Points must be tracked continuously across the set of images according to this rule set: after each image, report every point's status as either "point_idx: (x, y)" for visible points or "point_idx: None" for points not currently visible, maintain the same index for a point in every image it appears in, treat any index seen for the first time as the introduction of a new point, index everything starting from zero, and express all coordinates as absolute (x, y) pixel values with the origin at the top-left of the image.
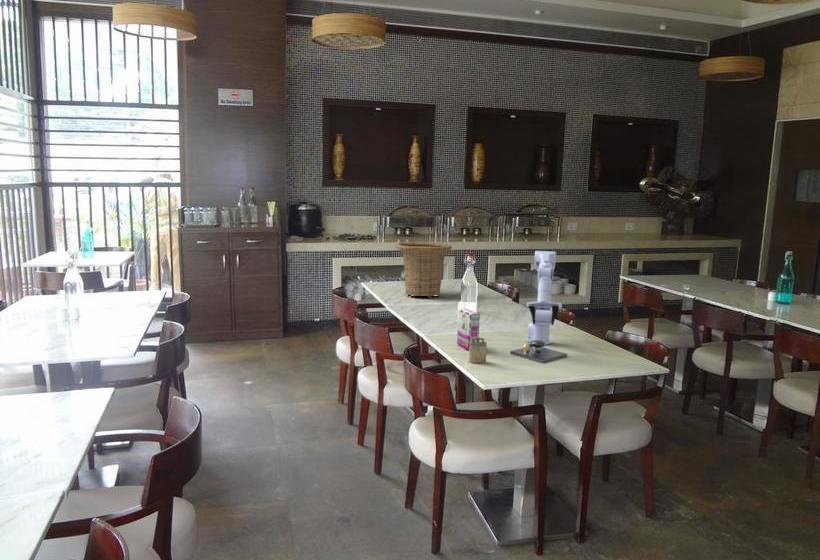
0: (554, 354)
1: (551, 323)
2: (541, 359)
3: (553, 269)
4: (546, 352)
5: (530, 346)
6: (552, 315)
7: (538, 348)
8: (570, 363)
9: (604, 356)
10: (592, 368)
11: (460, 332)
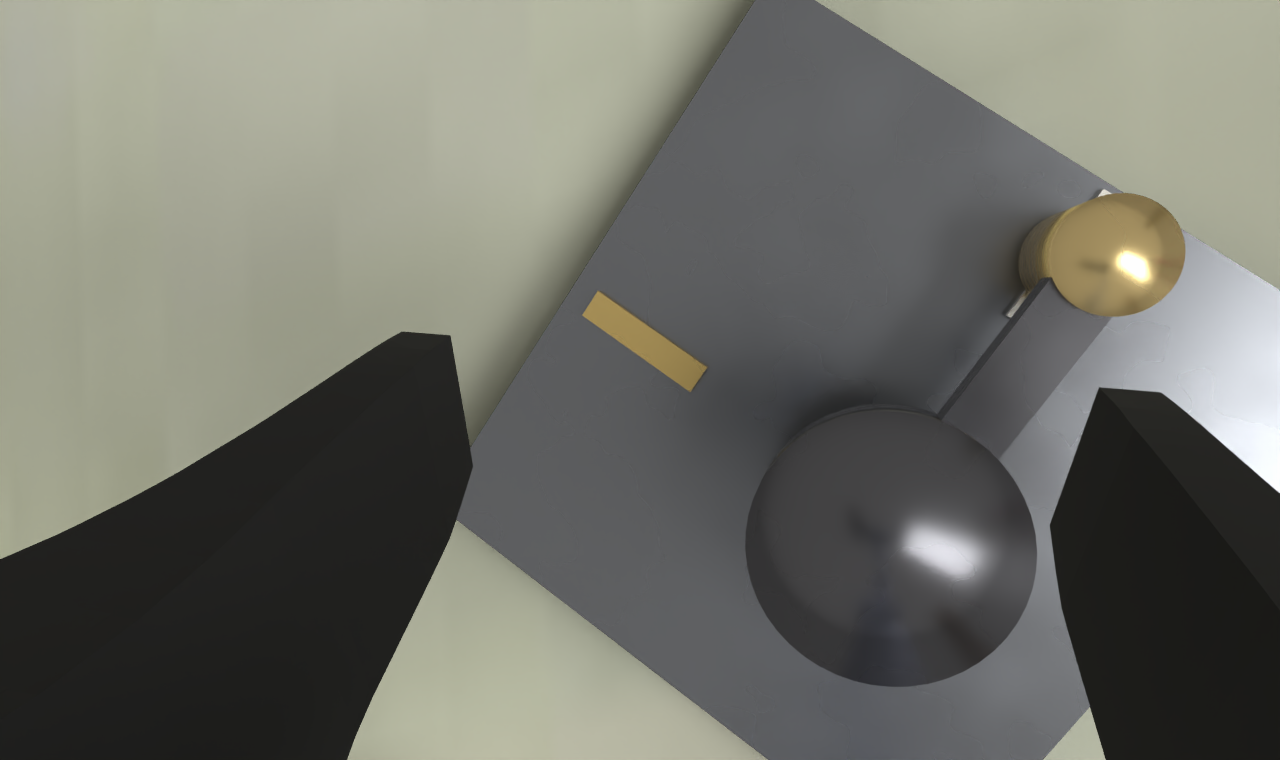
0: (604, 395)
1: (453, 359)
2: (791, 14)
3: None
4: (727, 477)
5: (1021, 305)
6: (261, 482)
7: None
8: (397, 147)
9: None
10: (147, 20)
11: None
